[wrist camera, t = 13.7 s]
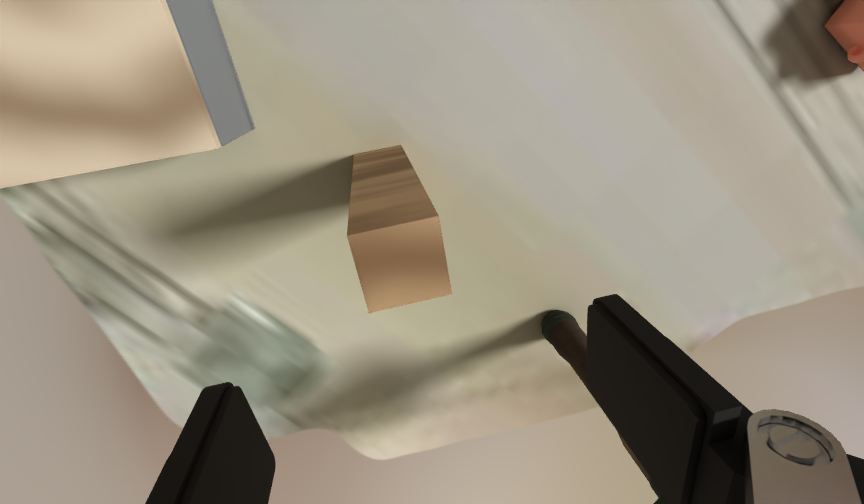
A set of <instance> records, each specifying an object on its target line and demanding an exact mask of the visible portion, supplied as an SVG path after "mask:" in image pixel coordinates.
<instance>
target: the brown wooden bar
mask: <svg viewBox="0 0 864 504" xmlns="http://www.w3.org/2000/svg"><path fill="white" fill-rule="evenodd" d="M347 237H348V241H349V244H350V248H351V251H352V255H353V259H354V262H355V266H356V269H357V273H358V276H359V280H360V283H361V287H362V290H363V294H364V297H365V301H366V304H367V308H368V311H369V313H371V312H376V311H380V310H384V309H389V308H393V307H397V306H402V305H406V304H410V303H415V302H419V301H423V300H428V299H432V298H436V297H441V296H445V295H449V294H452V292H451V286H450V280H449V274H448V268H447V262H446V256H445V250H444V244H443V238H442V233H441V227H440V221H439V216H438V214H437V212H436V210H435V208H434V206H433V204H432V202H431V201H430V199H429V197H428V195H427V193H426V191H425V189H424V187H423V185H422V184H421V182H420V180H419V178H418V176H417V174H416V172H415V170H414V168H413V167H412V165H411V163H410V161H409V159H408V157H407V155H406V153H405V151H404V150H403V148H402V146H401V145H400V146H395V147H390V148H385V149H380V150H375V151H370V152H365V153H360V154H355V155H354V159H353V171H352V183H351V195H350V207H349V219H348V230H347Z"/></svg>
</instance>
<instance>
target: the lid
mask: <svg viewBox="0 0 864 504" xmlns="http://www.w3.org/2000/svg"><path fill="white" fill-rule="evenodd" d="M219 147H221V144H220V142H219V139H218V136H217V134H216V131H215V128H214V126H213V123H212V120H211V118H210V115H209V113H208V110H207V107H206V105H205V102H204V99H203V97H202V94H201V91H200V89H199V86H198V84H197V81H196V78H195V76H194V73H193V70H192V68H191V65H190V63H189V60H188V57H187V55H186V52H185V49H184V47H183V44H182V41H181V39H180V36H179V34H178V31H177V28H176V26H175V23H174V20H173V18H172V15H171V13H170V10H169V7H168V5H167V2H166V0H0V188H5V187H11V186H16V185H22V184H27V183H32V182H38V181H43V180H49V179H54V178H60V177H65V176H71V175H76V174H82V173H87V172H93V171H98V170H104V169H109V168H115V167H120V166H126V165H131V164H136V163H142V162H147V161H153V160H158V159H164V158H169V157H175V156H180V155H186V154H191V153H197V152H202V151H208V150H213V149H217V148H219Z"/></svg>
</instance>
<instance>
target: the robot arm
mask: <svg viewBox="0 0 864 504" xmlns="http://www.w3.org/2000/svg"><path fill="white" fill-rule="evenodd" d="M586 382H587V385H588V388H589V390H590V392H591V394H592V395H593V396H594V398H595V399H596V401H597V402H598V404H599V405H600V406H601V408H602V409H603V411H604V412H605V413H606V415H607V416H608V418H609V419H610V421H611V422H612V423H613V425H614V426H615V428H616V429H617V431H618V432H619V433H620V435H621V436H622V438H623V439H624V440H625V442H626V443H627V445H628V446H629V448H630V449H631V450H632V452H633V453H634V455H635V456H636V458H637V459H638V460H639V462H640V463H641V465H642V466H643V468H644V469H645V470H646V472H647V473H648V475H649V476H650V477H651V479H652V480H653V482H654V483H655V485H656V486H657V487H658V489H659V490H660V492H661V493H662V495H663V496H664V497H665V499H666V500H667V502H668V503H669V504H864V459H861V458H858V457H855V456H852V455H848V454H846V452H845V450H844V448H843V447H842V445H841V443H840V442H839V441H838V440H837V439H836V438H835V437H834V436H833V434H831V432H829V431H828V430H826V429H825V428H823V427H822V426H821V425H819V424H818V423H816V422H814V421H812V420H810V419H808V418H806V417H804V416H801V415H798V414H795V413H792V412H789V411H782V410H776V409H772V410H762V411H759V412H756V413H754V414H753V413H752V412H751V411H749V410H748V409H747V408H746V407H745V406H744V405H742V403H741V402H739V401H738V400H737V399H736V398H735V397H734V396H733V395H732V394H730V393H729V392H728V391H727V390H726V389H725V388H724V387H722V386H721V385H720V384H719V383H718V382H717V381H716V380H715V379H714V378H712V377H711V376H710V375H709V374H708V373H707V372H706V371H704V370H703V369H702V368H701V367H700V366H699V365H698V364H697V363H695V362H694V361H693V360H692V359H691V358H690V357H689V356H688V355H686V354H685V353H684V352H683V351H682V350H681V349H680V348H679V347H677V346H676V345H675V344H674V343H673V342H672V341H671V340H669V339H668V338H667V337H665V336H664V335H663V334H662V333H660V332H659V331H658V330H657V329H656V328H655V327H654V326H653V325H651V324H650V323H649V322H648V321H647V320H646V319H645V318H644V317H642V316H641V315H640V314H639V313H638V312H637V311H636V310H635V309H633V308H632V307H631V306H630V305H629V304H628V303H627V302H626V301H625V300H623V299H622V298H621V297H620V296H619V295H617V294H613V295H609V296H604V297H600V298H596V299H594V301H593V305H590V306H589V307H588V316H587V359H586ZM274 472H275V458H274V454H273V452H272V450H271V448H270V446H269V444H268V442H267V440H266V438H265V436H264V434H263V432H262V430H261V428H260V426H259V424H258V422H257V420H256V418H255V416H254V414H253V412H252V410H251V408H250V406H249V403H248V401H247V399H246V397H245V395H244V393H243V391H242V389H241V388H240V387H239V386H235V387H234V386H233V384H232V383H230V382H226V383H222V384H217V385H213V386H209V387H205V388H204V389H203V390H202V392H201V393H200V396H199V398H198V400H197V402H196V404H195V406H194V408H193V410H192V412H191V414H190V416H189V418H188V420H187V422H186V424H185V426H184V428H183V430H182V432H181V434H180V436H179V438H178V441H177V443H176V445H175V447H174V449H173V451H172V453H171V454H170V456H169V458H168V459H167V461H166V463H165V465H164V467H163V469H162V471H161V473H160V475H159V477H158V479H157V481H156V483H155V485H154V487H153V490H152V491H151V493H150V495H149V498H148V499H147V501H146V503H145V504H268V501H269V496H270V491H271V487H272V482H273V477H274Z"/></svg>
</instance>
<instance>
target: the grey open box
mask: <svg viewBox="0 0 864 504" xmlns="http://www.w3.org/2000/svg"><path fill="white" fill-rule="evenodd" d="M166 2H167V5H168V7H169V10H170V13H171V15H172V18H173V20H174V23H175V26H176V28H177V31H178V34H179V36H180V39H181V41H182V44H183V47H184V49H185V52H186V55H187V57H188V60H189V63H190V65H191V68H192V70H193V73H194V76H195V78H196V81H197V84H198V86H199V89H200V91H201V94H202V97H203V99H204V102H205V105H206V107H207V110H208V113H209V115H210V118H211V120H212V123H213V126H214V128H215V131H216V134H217V136H218V139H219V142H220V144H221V146H224V145H226V144H227V143H229V142H231V141H233V140H235V139H236V138H238V137H240V136H242V135H244V134H245V133H247V132H249V131H251V130H253V129H255V127H254V124H253V121H252V118H251V115H250V112H249V109H248V106H247V103H246V100H245V97H244V94H243V91H242V88H241V85H240V82H239V79H238V76H237V73H236V70H235V67H234V64H233V62H232V59H231V56H230V53H229V50H228V47H227V44H226V41H225V38H224V35H223V32H222V29H221V26H220V23H219V20H218V17H217V14H216V11H215V8H214V5H213V2H212V0H166Z"/></svg>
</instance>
